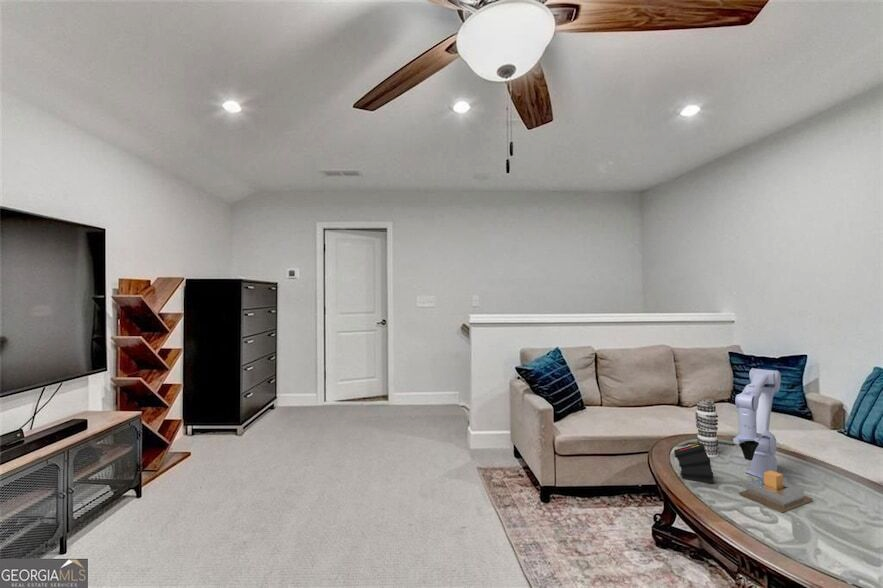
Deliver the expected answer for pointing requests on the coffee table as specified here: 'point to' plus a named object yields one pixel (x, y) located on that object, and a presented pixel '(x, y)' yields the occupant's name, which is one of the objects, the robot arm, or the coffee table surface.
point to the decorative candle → (707, 426)
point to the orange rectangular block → (773, 480)
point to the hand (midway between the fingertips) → (748, 459)
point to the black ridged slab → (694, 463)
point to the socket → (775, 495)
